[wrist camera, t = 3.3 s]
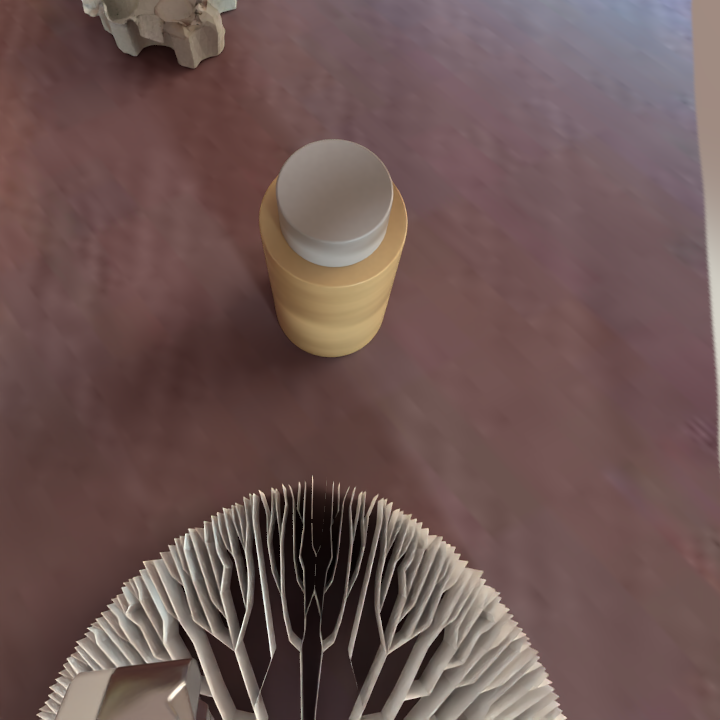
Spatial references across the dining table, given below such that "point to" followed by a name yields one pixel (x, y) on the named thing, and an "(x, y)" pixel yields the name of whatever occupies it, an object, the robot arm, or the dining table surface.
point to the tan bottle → (332, 245)
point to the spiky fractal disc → (415, 594)
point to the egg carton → (165, 25)
